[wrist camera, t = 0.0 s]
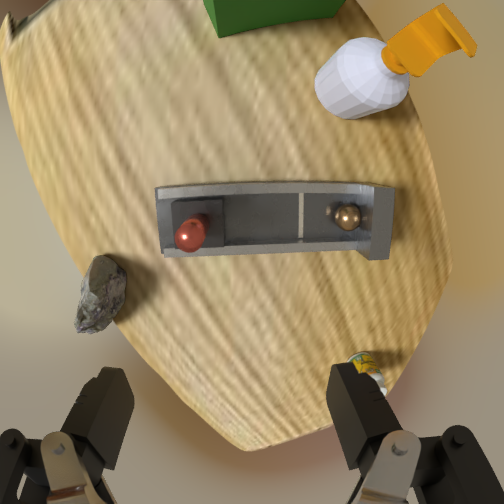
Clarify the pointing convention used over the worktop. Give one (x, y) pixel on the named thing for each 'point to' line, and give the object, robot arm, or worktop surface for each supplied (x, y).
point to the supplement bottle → (368, 368)
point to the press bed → (289, 217)
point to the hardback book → (265, 13)
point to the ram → (198, 223)
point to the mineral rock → (100, 295)
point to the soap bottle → (388, 64)
